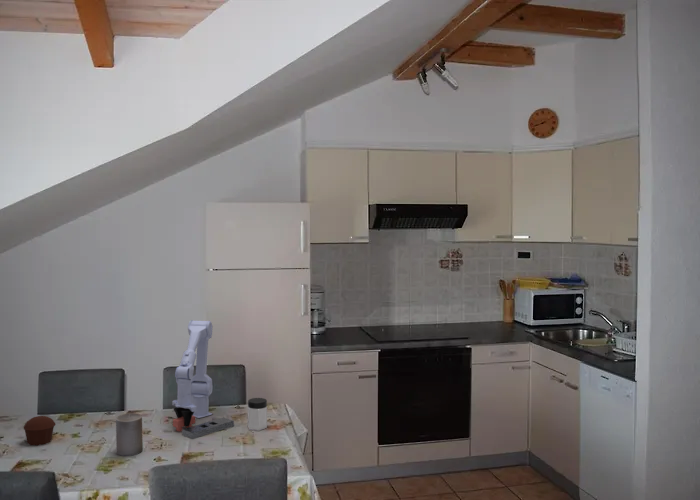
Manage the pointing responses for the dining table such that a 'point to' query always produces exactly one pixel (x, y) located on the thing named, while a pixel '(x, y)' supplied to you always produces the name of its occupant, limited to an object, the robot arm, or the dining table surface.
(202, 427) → the rail
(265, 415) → the jar
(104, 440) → the dining table surface
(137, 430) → the pillar candle
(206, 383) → the robot arm
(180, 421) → the clip
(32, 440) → the muffin
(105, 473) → the dining table surface
